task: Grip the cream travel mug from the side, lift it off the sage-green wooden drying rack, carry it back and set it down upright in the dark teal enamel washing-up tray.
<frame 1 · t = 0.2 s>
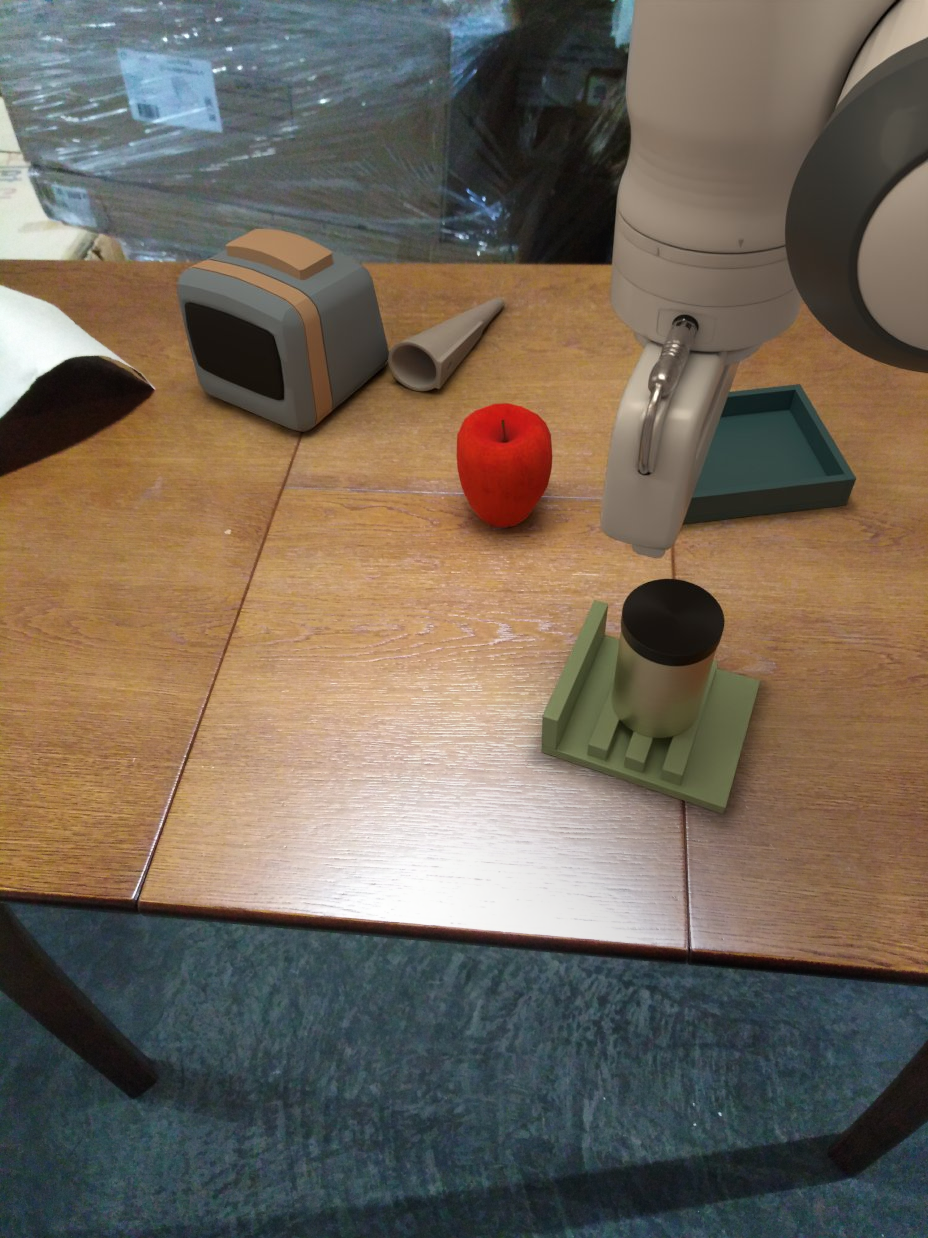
hand: (671, 491, 52), 24 cm above the table, tool pointing down, fingers open, 8 cm apart
apple: (505, 513, 86), on the table
long tapered cone: (452, 345, 104), on the table
travel mug: (655, 701, 68), point 2 cm above the table, touching drying rack
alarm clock: (298, 382, 101), on the table
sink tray: (731, 465, 88), on the table
drying rack: (651, 719, 70), on the table
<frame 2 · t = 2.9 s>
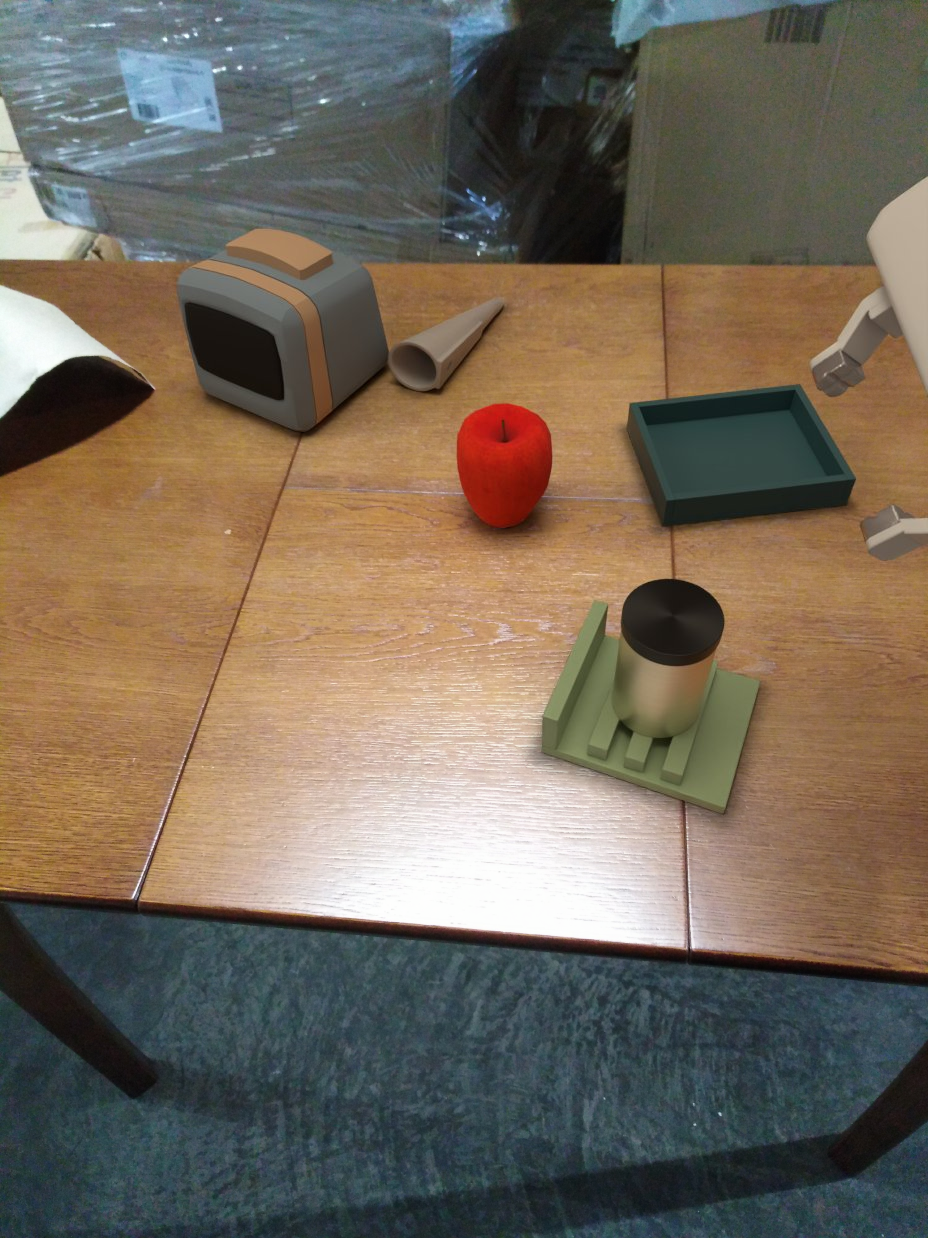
hand: (843, 458, 41), 32 cm above the table, tool tilted 40°, fingers open, 8 cm apart
nothing on the table moved.
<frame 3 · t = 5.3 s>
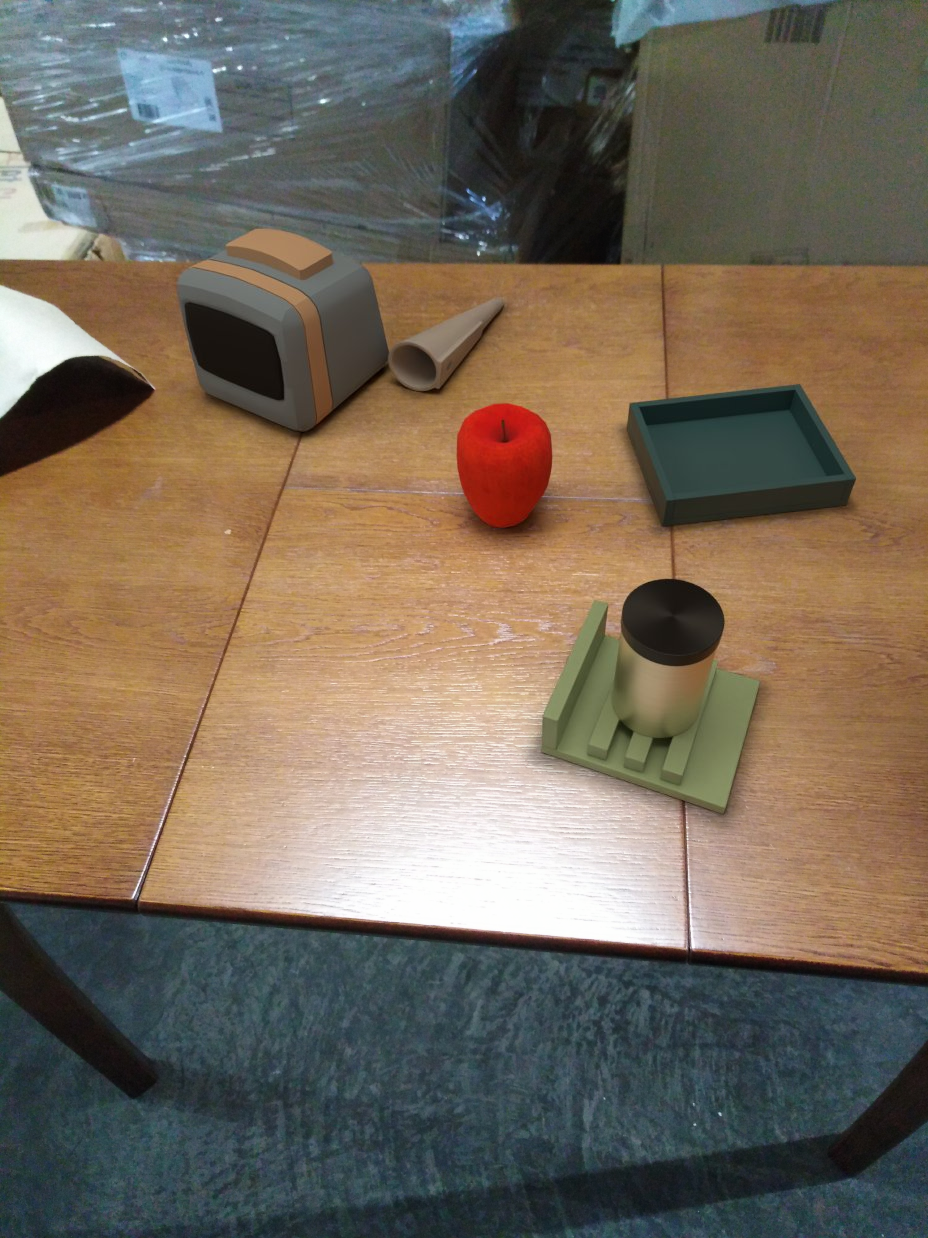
nothing on the table moved.
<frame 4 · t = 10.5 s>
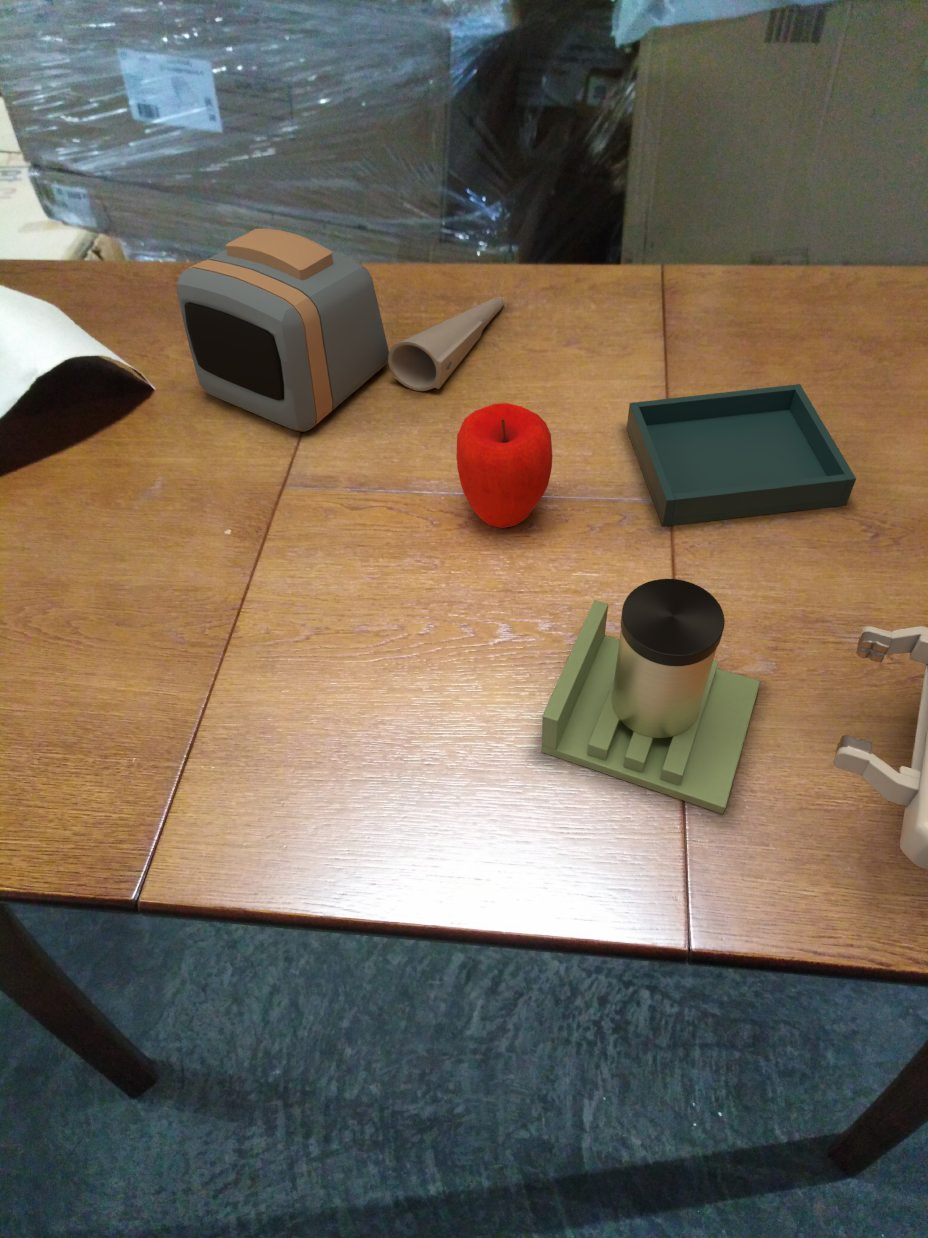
hand: (848, 692, 59), 10 cm above the table, tool horizontal, fingers open, 8 cm apart
nothing on the table moved.
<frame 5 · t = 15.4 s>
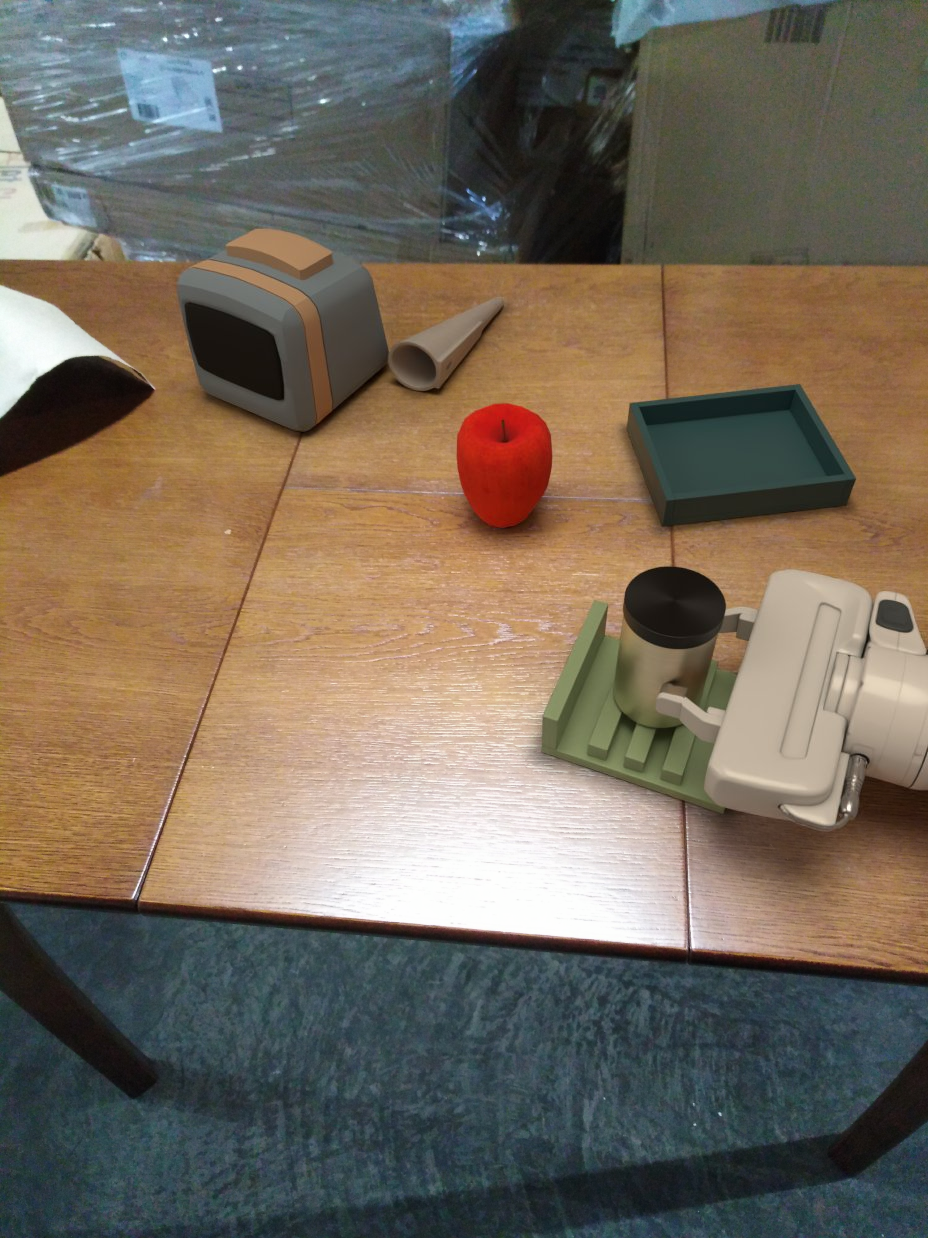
hand: (674, 656, 65), 7 cm above the table, tool horizontal, fingers closed on travel mug, 6 cm apart
travel mug: (656, 693, 68), point 3 cm above the table, touching drying rack, gripper
everything else where it was.
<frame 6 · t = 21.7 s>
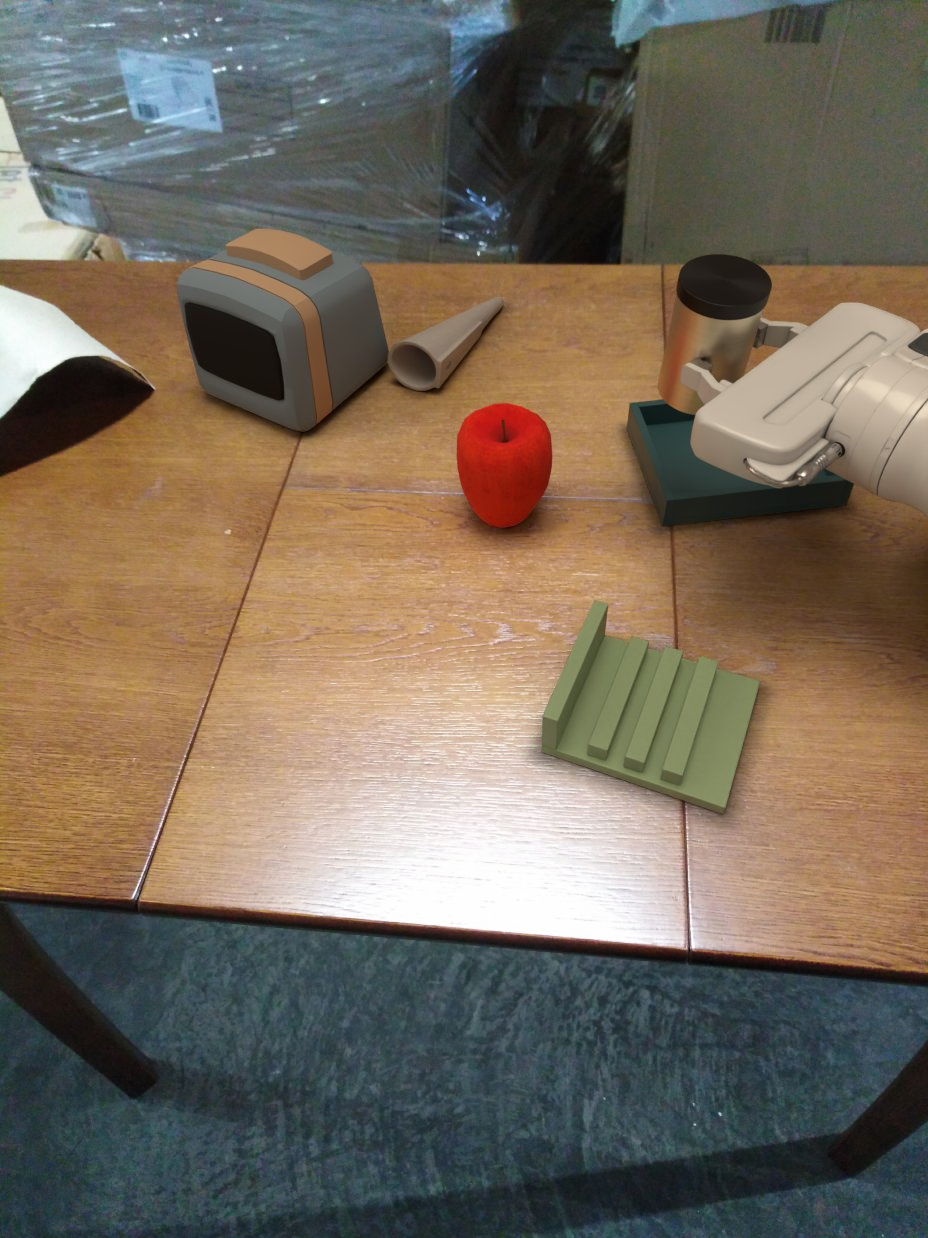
hand: (717, 347, 71), 18 cm above the table, tool horizontal, fingers closed on travel mug, 6 cm apart
travel mug: (697, 389, 75), point 14 cm above the table, touching gripper
everything else where it was.
when the fingers open (5 cm above the table, at t = 28.4 s): travel mug stays where it is, resting on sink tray.
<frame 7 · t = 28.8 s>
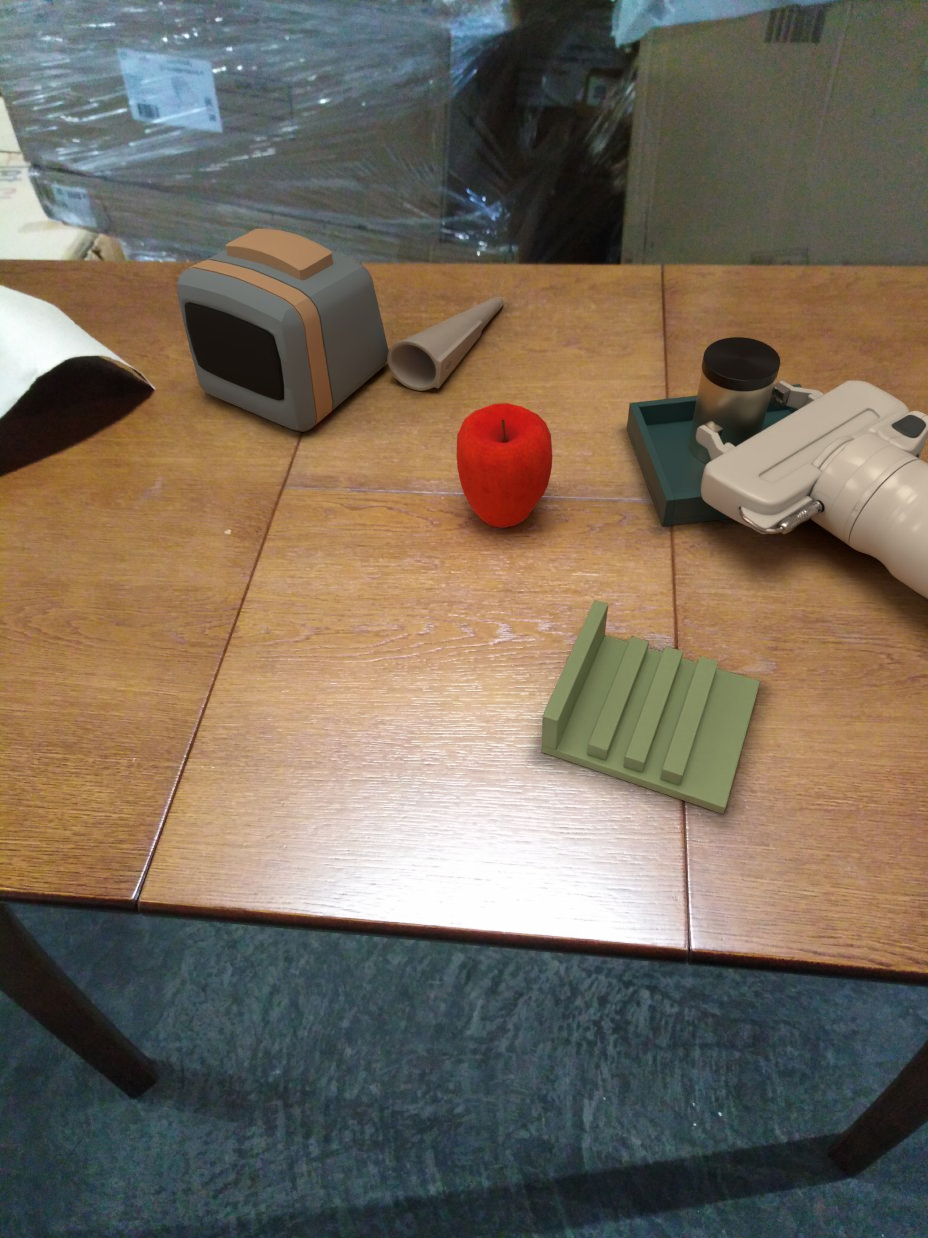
hand: (738, 409, 84), 6 cm above the table, tool horizontal, fingers open, 8 cm apart
travel mug: (722, 446, 89), point 1 cm above the table, touching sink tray
everything else where it was.
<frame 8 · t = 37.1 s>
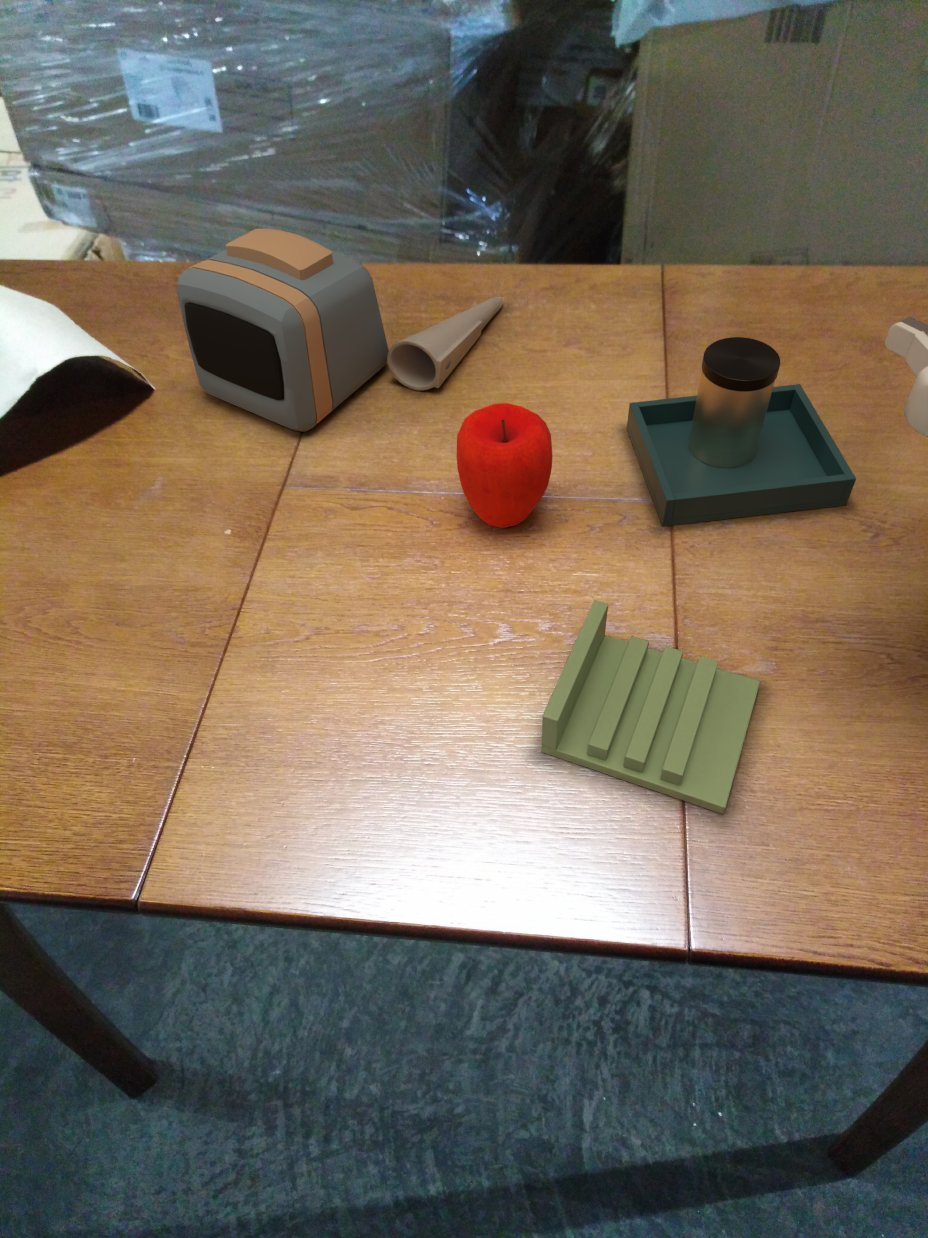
nothing on the table moved.
at the end: travel mug inside the target area in the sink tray (2.0 cm from its centre), point 0.8 cm above the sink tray's base; travel mug tilted 0°; the gripper is holding nothing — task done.
